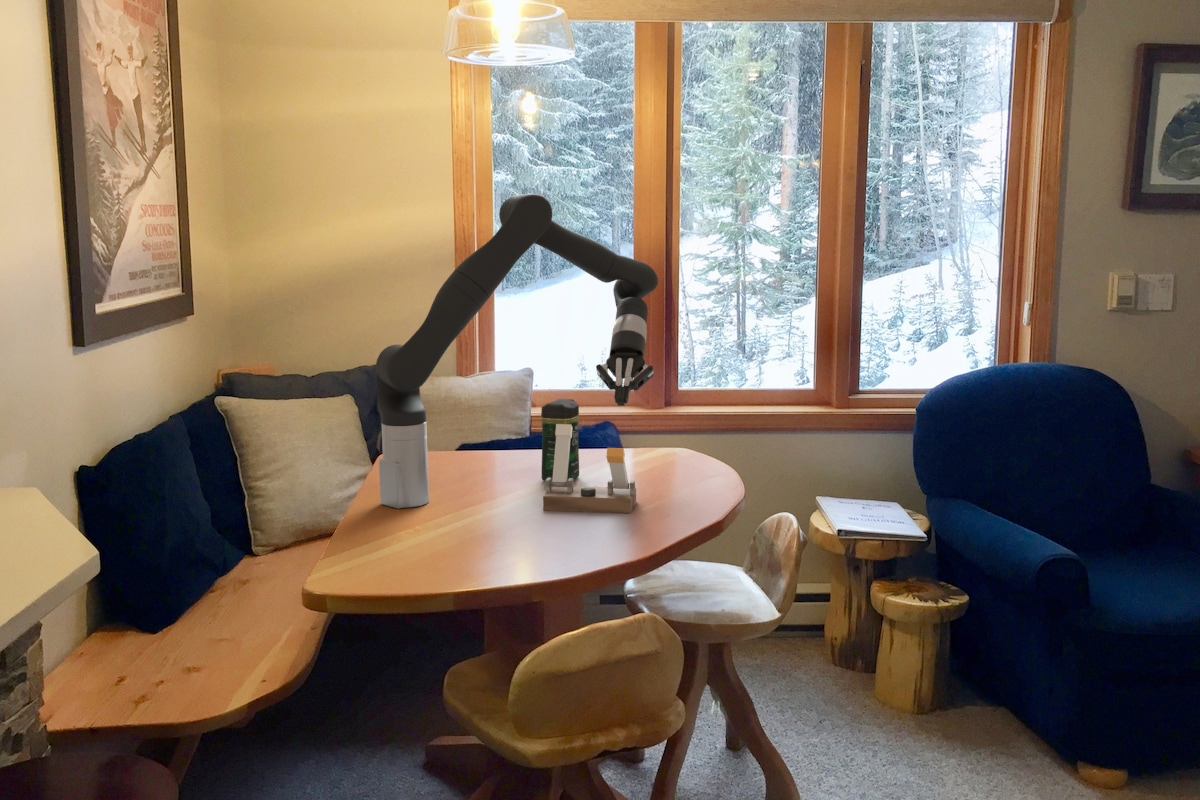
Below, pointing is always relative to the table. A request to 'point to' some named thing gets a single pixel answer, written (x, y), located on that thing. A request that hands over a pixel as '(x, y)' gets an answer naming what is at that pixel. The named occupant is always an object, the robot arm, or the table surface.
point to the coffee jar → (550, 416)
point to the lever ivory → (561, 455)
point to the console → (589, 498)
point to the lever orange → (617, 468)
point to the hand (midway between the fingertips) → (620, 403)
